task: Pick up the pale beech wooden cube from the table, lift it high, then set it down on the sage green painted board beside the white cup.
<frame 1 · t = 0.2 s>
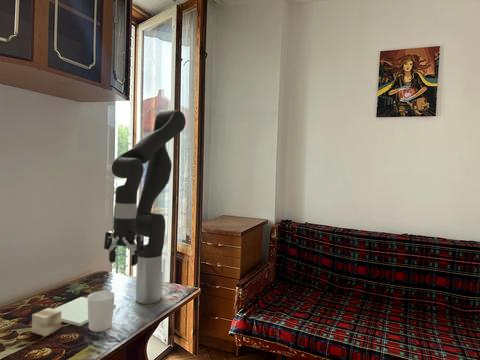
hand: (123, 263, 116), 17 cm above the table, tool pointing down, fingers open, 8 cm apart
beech cube: (46, 330, 104), on the table
sage board: (80, 311, 118), on the table
white cup: (100, 327, 108), on the table
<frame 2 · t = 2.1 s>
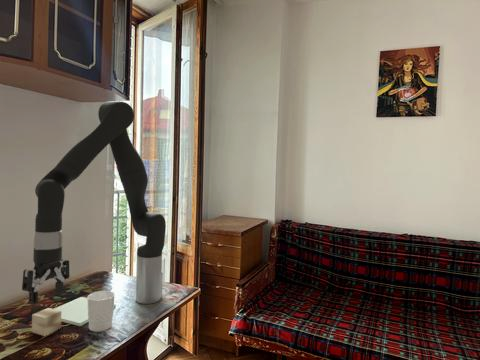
hand: (46, 298, 103), 10 cm above the table, tool pointing down, fingers open, 8 cm apart
nothing on the table moved.
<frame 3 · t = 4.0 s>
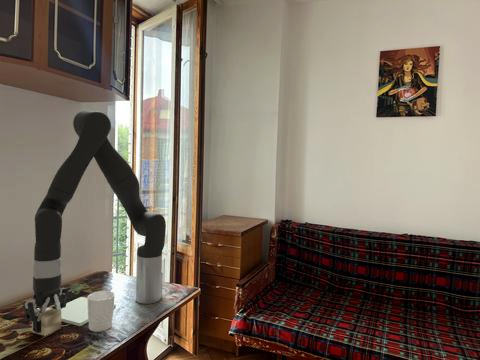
hand: (46, 327, 104), 1 cm above the table, tool pointing down, fingers closed on beech cube, 5 cm apart
beech cube: (46, 330, 104), on the table, touching gripper
everything else where it was.
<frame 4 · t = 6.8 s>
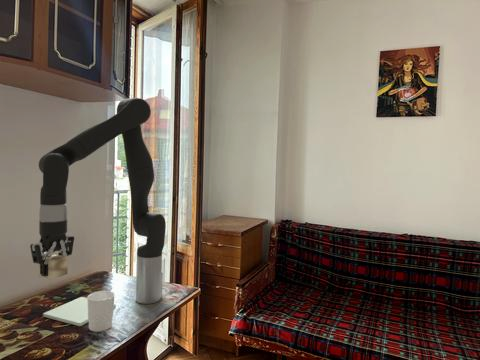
hand: (53, 272, 105), 17 cm above the table, tool pointing down, fingers closed on beech cube, 5 cm apart
beech cube: (53, 275, 105), point 16 cm above the table, touching gripper
everything else where it was.
when the fingers open (3 cm above the table, at t = 9.9 s): beech cube drops 1 cm, resting on sage board.
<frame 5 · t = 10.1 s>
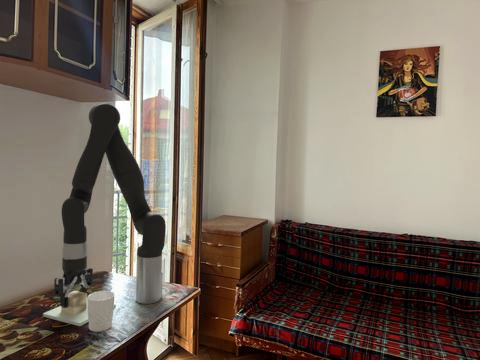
hand: (74, 303, 116), 4 cm above the table, tool pointing down, fingers open, 7 cm apart
beech cube: (74, 310, 116), point 1 cm above the table, touching sage board
everything else where it was.
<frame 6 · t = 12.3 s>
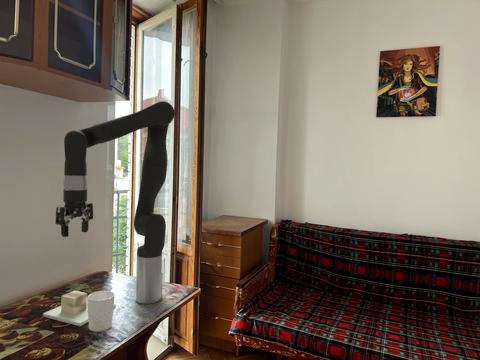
hand: (75, 234, 120), 26 cm above the table, tool pointing down, fingers open, 8 cm apart
nothing on the table moved.
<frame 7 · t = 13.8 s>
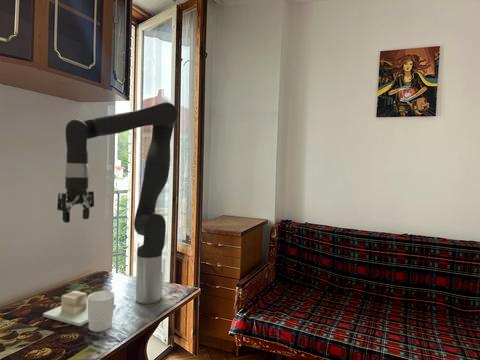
hand: (76, 220, 124), 30 cm above the table, tool pointing down, fingers open, 8 cm apart
nothing on the table moved.
at the end: beech cube inside the target area on the sage board (2.2 cm from its centre), point 1.0 cm above the sage board's base; beech cube tilted 0°; the gripper is holding nothing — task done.
